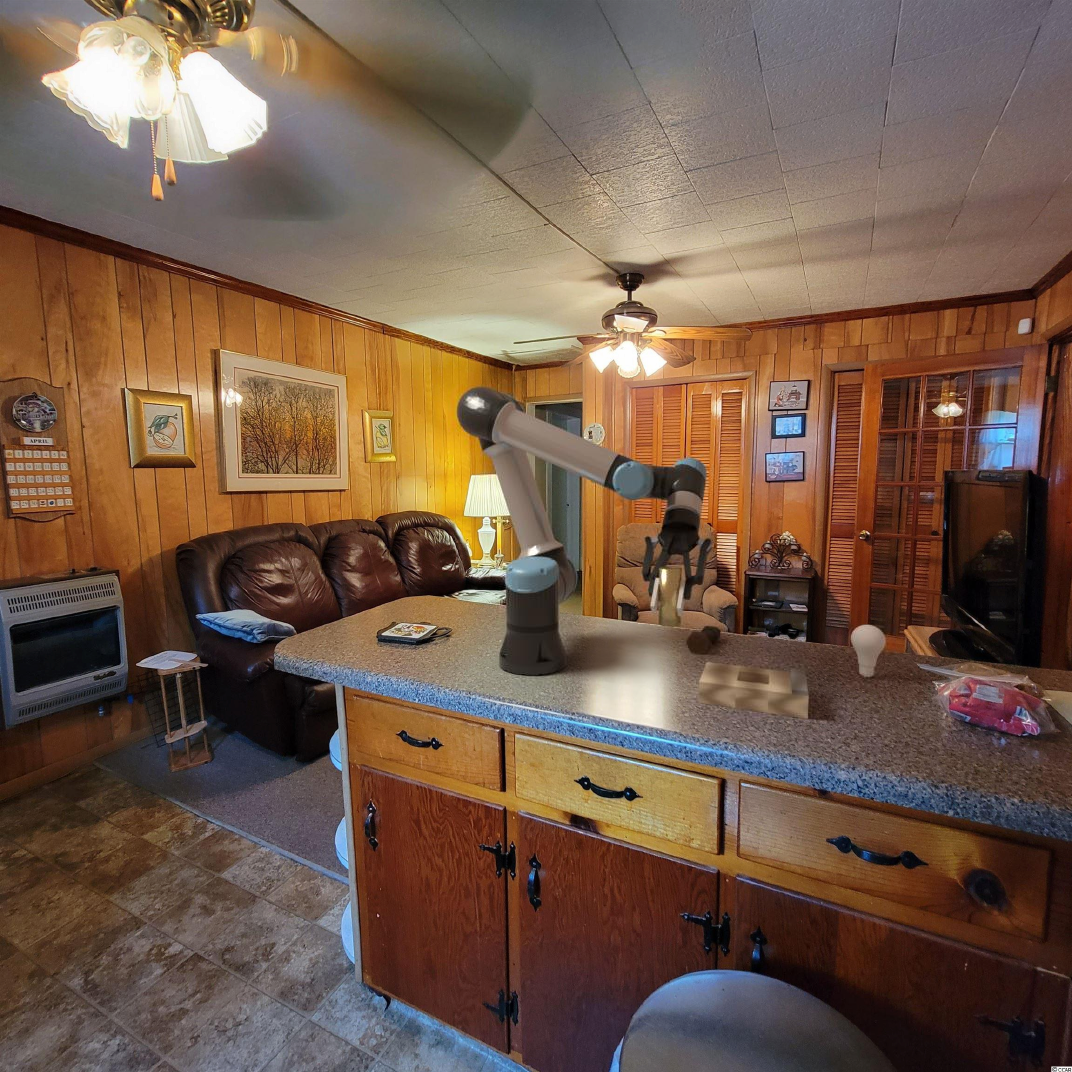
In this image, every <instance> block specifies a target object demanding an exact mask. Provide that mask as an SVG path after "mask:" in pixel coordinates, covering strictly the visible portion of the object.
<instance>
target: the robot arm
mask: <svg viewBox="0 0 1072 1072" xmlns="http://www.w3.org/2000/svg"><path fill="white" fill-rule="evenodd" d="M456 416H457V417H456V418H457V421H458V423H459V425H460V427H461V428H462V429H463V431H465V433H467V434H469V435H470V436H472V437H475V438H477V439H478V442H479V444H480V447H481V451H482V453H483V455H485V456H487V457H489V458H490V459H491V462H492V463H493V467H494V471H495V473H496V477H497V479H498V483H499V485H500V489H501V491H502V495H503V498H504V500H505V501H504V502H505V504H506V507H507V511H508V514H509V516H510V518H511V523H512V525H513V528H514V529H513V530H514V532H515V534H516V537H517V540H518V544H519V548H520V554H519V556H518V558H517V559H514V560H513V561H511V562H509V564H507V566H506V569H505V577H504V583H505V612H506V613H505V617H506V619H505V621H506V628H505V629H506V631H505V634H504V638H503V641H502V644H501V647H500V650H499V653H498V665H499V668H501V669H502V670H503V671H505V670H506V672H508V673H511V672H512V673H511V674H514V675H515V674H516V675H522V674H525V675H526V676H540V675H539V674H542V675H547V674H548V673H549V674H553V673H556V671H557V672H559V671H561V670H563V669H564V668H566V666H567V651H566V648H565V646H564V643H563V639H562V636H561V633H560V631H559V629H560V628H559V613H560V611H559V610H560V609H559V605H560V604H561V603H564V602H565V601H566V600H568V599H570V597H571V596H572V595H573V592H574V591H575V589H576V587H577V583H578V572H577V568H576V566H575V564H574V563H573V561H571V560H570V558H568V557H567V554H566V551H565V548H564V547H565V546H564V545H563V543H561V542H560V541H557V540H556V539H555V537H554V533H553V531H552V527H551V525H550V521H549V518H548V515H547V512H546V509H545V505H544V503H543V500H542V497H541V494H540V491H539V488H538V485H537V484H538V483H537V481H536V478H535V476H534V472H533V469H532V466H531V463H530V460H529V457H528V454H530V455H532V456H534V457H536V458H538V459H541V460H543V461H545V462H548V463H549V464H553V465H555V466H557V467H559V468H561V469H564V470H565V471H568V472H570V473H572V474H574V475H577V476H579V477H581V478H584V479H586V480H588V481H591V482H593V483H595V484H597V485H599V486H602V487H604V488H606V489H607V490H610V491H612V492H613V493H616V494H617V495H619V496H620V497H621V498H623V499H626V500H629V501H638V500H642V499H651V500H652V499H653V500H661V501H666V505H665V510H664V516H663V518H662V524H661V529H660V532H659V533H658V535H657V536H655V537H651V536H645V537H644V541H645V542H644V543H645V545H646V546H645V552H644V558H643V562H642V564H643V565H642V570H641V574H642V578H643V581H644V582H648V584H649V585H648V589H647V591H648V596H649V597H650V598H651V601H650V606H649V607H650V609H651V610H650V611H651V615H652V614H653V615H657V612H658V608H659V568H660V567H665V566H668V565H667V564H668V562H669V560H670V559H671V558H672V556H676V555H678V556H682V560H683V568H684V569H683V570H684V578H685V579H681V584H680V590H679V596H678V603H677V612H678V616H681V617H683V616H684V615H683V613H684V606H685V602H686V601H685V600H688V601H689V600H691V598H692V592H693V587H694V586H696V585H697V586H702V585H703V584H704V580H705V579H704V578H705V572H706V566H707V560H708V556H709V554H710V552H711V550H712V548H713V545H712V540H711V538H705V539H703V538H700V535H699V532H700V525H701V517H702V510H703V503H704V497H705V490H706V486H707V485H706V483H707V468H706V466H705V465H704V463H703V462H702V461H700V459H696V458H693V457H685V458H683V459H681V458H680V459H678V460H677V461H676V462H675V463H674V465H673V466H661V465H652V464H644V463H642V462H640V461H637V460H635V459H632V458H629V457H627V456H625V455H622V454H620V453H618V452H616V451H614V450H611V449H609V448H606V447H604V446H602V445H599V444H598V443H595V442H593V441H590V440H588V439H586V438H583V437H581V436H578V435H577V434H574V433H572V432H569V431H567V430H565V429H562V428H561V427H557V426H555V425H554V424H551V423H550V422H546V421H544V420H542V419H540V418H537V417H535V416H532V415H530V414H528V413H526V412H525V409H524V408H523V406H522V405H521V403H520V402H519V401H518V400H516V399H515V397H513V396H511V395H509V394H507V393H504V392H500V391H498V390H495V389H494V388H491V387H489V386H488V387H487V386H476V387H472V388H470V389H468V390H467V391H466V392H464V393H462V395H461V396H460V399H459V400H458V402H457V407H456ZM527 453H528V454H527ZM658 544H659V545H660V547H661V552H660V554H659V556H658V558H657V560H656V563H655V565H653V561H654V555H655V551H654V550H656V548H657V545H658ZM697 546H698V548H699V554H698V558H697V565H696V571H695V574H694V575H693V573H692V567H691V558H690V553H691V552H692V550H694V549H695V548H696V547H697ZM653 566H654V567H653ZM652 567H653V568H652Z"/></svg>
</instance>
